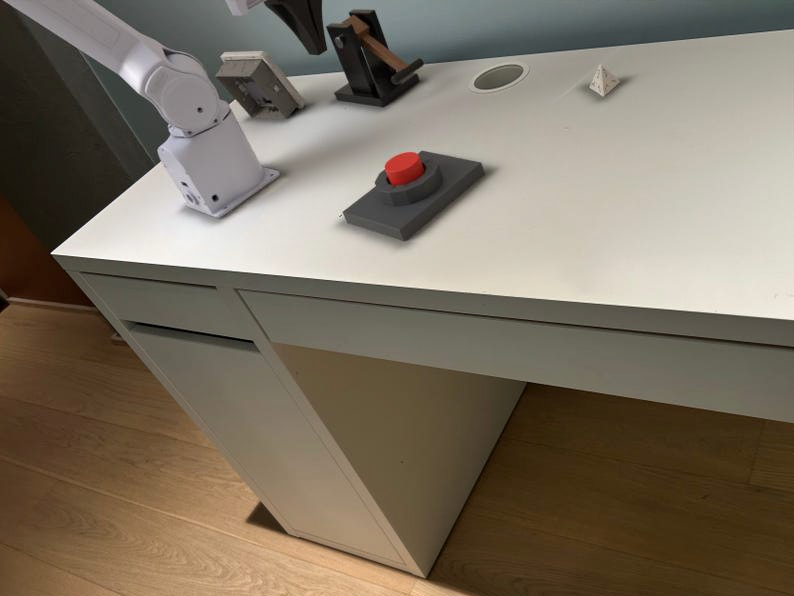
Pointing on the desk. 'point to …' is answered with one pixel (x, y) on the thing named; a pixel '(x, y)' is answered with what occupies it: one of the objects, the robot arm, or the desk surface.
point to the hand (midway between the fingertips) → (318, 52)
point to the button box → (413, 196)
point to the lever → (383, 51)
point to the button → (404, 168)
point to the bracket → (365, 65)
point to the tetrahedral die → (603, 81)
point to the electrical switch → (258, 84)
